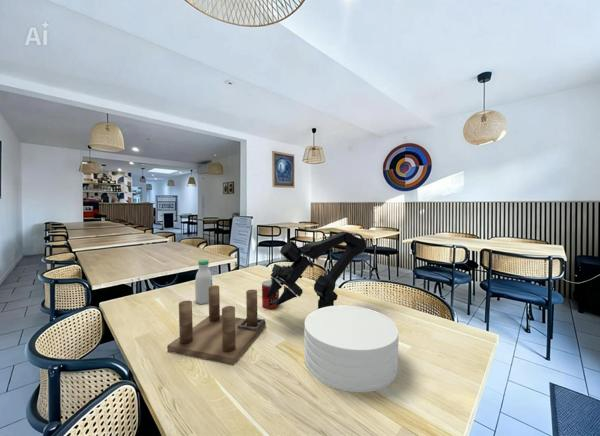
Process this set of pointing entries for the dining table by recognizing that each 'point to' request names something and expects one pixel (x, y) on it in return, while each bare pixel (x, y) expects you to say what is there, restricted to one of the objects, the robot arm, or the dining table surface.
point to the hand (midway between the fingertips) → (272, 300)
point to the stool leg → (251, 308)
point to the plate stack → (351, 348)
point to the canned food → (269, 301)
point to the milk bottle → (203, 282)
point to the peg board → (214, 332)
